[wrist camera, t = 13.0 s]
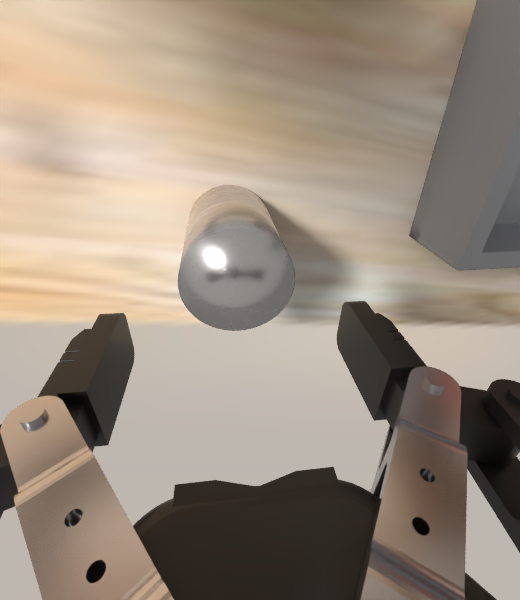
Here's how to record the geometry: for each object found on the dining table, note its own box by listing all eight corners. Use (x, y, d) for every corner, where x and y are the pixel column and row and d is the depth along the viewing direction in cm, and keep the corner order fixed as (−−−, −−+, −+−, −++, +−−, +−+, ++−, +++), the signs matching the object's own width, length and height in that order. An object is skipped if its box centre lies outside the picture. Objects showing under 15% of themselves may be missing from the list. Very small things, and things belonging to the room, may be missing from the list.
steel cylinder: (183, 186, 18) (169, 231, 12) (271, 184, 18) (299, 227, 12) (193, 265, 20) (185, 334, 15) (269, 261, 21) (290, 326, 15)
